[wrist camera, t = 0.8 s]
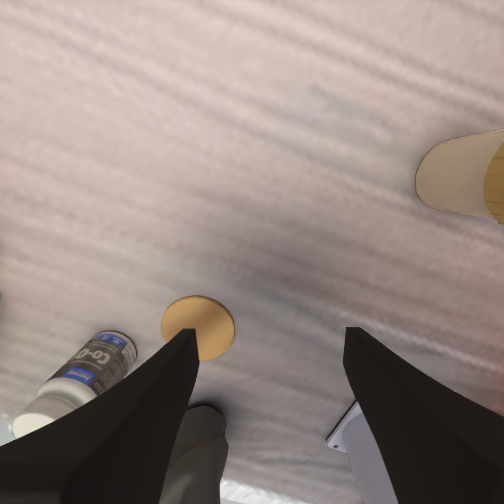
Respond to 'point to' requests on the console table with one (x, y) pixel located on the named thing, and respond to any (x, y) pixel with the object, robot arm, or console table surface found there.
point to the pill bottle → (78, 381)
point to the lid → (495, 185)
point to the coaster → (201, 324)
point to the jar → (458, 173)
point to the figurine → (197, 459)
